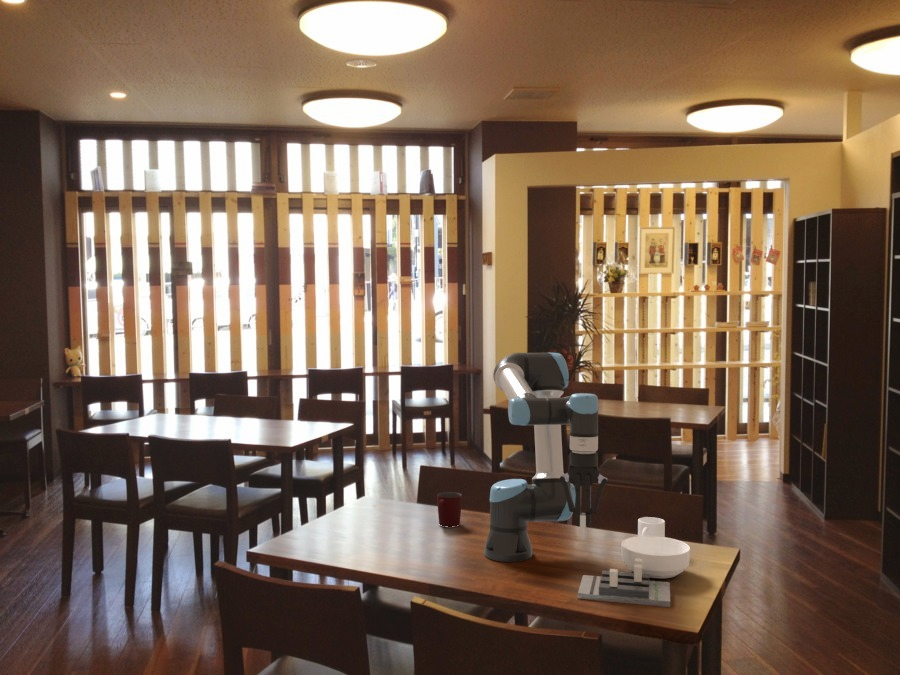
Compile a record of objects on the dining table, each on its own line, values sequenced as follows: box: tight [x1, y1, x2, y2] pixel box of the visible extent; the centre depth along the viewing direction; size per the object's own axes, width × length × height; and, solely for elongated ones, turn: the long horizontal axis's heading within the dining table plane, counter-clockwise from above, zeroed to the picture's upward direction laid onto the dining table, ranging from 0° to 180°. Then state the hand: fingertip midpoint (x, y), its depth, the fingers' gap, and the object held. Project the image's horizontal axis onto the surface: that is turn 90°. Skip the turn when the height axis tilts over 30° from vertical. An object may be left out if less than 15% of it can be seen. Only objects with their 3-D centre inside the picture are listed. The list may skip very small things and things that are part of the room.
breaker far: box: [635, 558, 642, 565], centre depth 224 cm, size 2×2×4 cm
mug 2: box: [637, 516, 666, 537], centre depth 255 cm, size 12×8×10 cm
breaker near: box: [609, 568, 619, 587], centre depth 215 cm, size 2×2×4 cm
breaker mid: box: [633, 564, 642, 582], centre depth 219 cm, size 2×2×4 cm
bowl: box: [620, 535, 691, 579], centre depth 236 cm, size 20×20×8 cm
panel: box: [577, 569, 671, 608], centre depth 220 cm, size 24×15×4 cm, turn 75°
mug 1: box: [436, 491, 463, 527], centre depth 286 cm, size 12×9×11 cm
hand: (583, 538), depth 216 cm, fingers closed
